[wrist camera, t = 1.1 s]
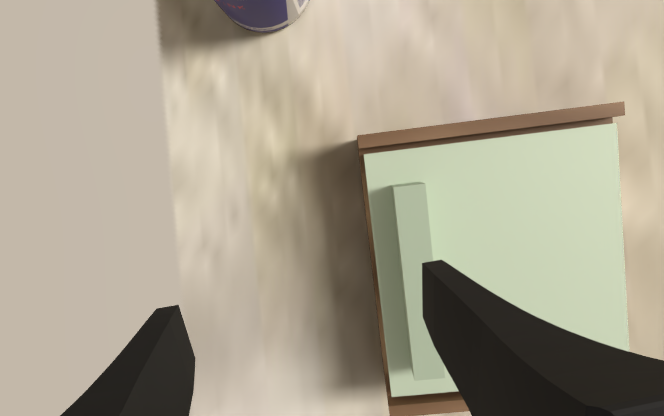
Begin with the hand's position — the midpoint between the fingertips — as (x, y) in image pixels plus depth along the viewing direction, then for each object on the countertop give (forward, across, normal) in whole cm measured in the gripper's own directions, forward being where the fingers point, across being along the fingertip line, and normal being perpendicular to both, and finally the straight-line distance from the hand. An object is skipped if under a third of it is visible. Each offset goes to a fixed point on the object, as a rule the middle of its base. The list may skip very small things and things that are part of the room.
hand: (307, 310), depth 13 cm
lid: (+7, -10, +4) cm, 13 cm away
